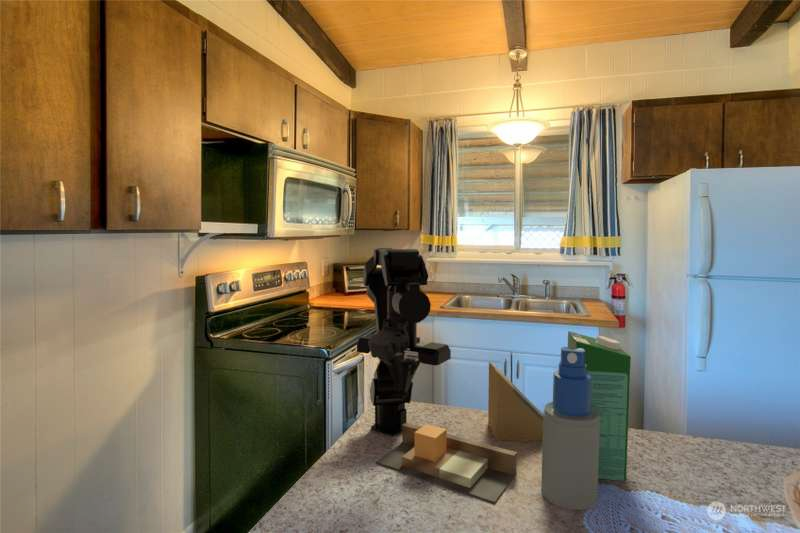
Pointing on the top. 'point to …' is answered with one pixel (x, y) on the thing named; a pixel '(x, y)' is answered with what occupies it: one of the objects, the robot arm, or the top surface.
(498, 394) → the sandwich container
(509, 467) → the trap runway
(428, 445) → the block
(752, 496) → the top surface
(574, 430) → the spray bottle
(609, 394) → the milk carton
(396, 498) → the top surface
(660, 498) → the top surface
